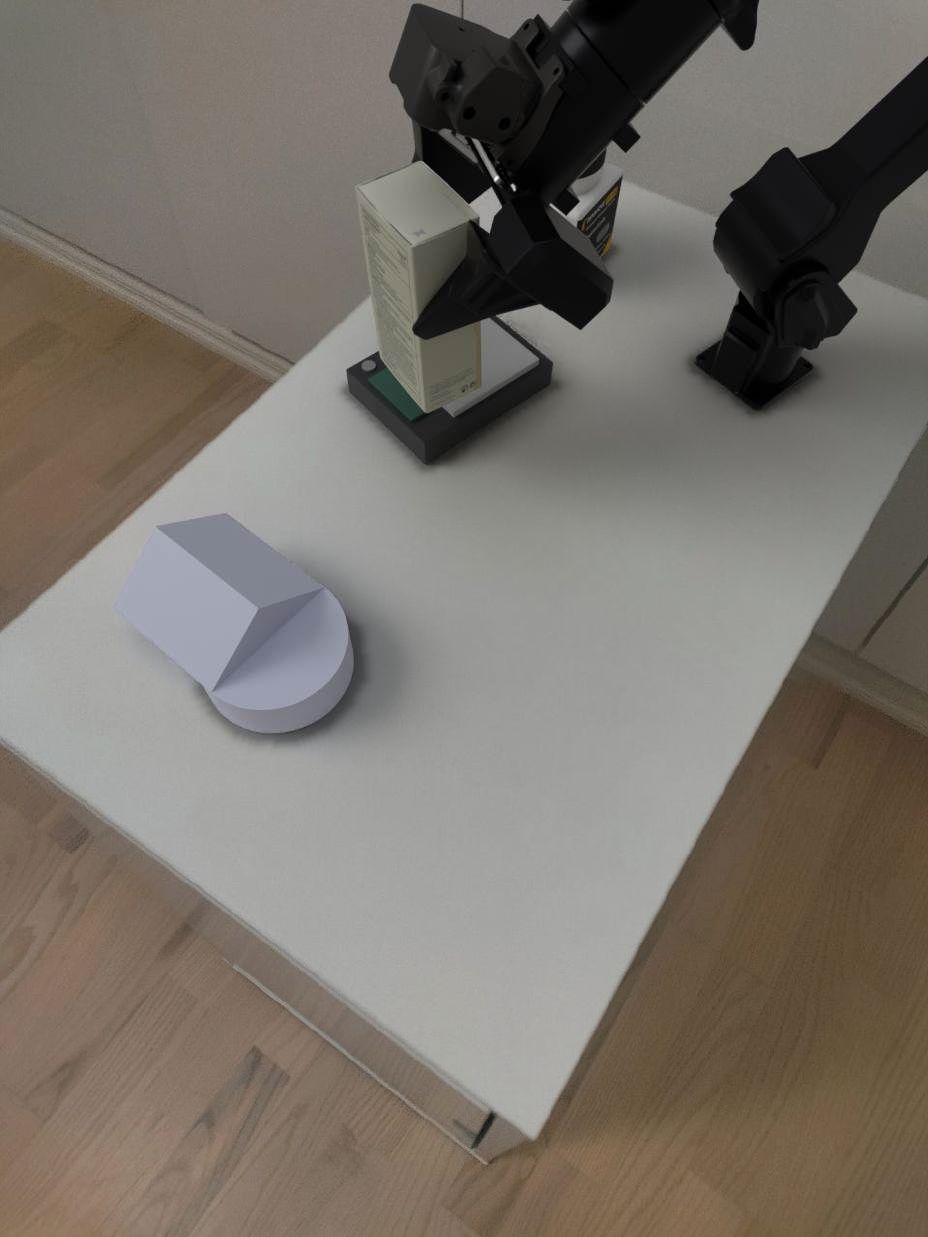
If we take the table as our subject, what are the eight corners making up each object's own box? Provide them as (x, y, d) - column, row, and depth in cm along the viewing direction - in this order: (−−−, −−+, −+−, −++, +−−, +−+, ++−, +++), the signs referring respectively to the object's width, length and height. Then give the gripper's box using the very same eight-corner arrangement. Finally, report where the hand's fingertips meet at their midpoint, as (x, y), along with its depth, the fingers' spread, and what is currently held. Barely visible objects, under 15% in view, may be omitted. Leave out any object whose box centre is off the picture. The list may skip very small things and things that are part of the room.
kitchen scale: (472, 319, 68) (473, 289, 66) (550, 384, 65) (554, 356, 62) (348, 391, 64) (344, 362, 62) (425, 464, 61) (424, 437, 58)
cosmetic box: (483, 389, 55) (487, 218, 45) (423, 417, 54) (412, 249, 43) (431, 330, 58) (424, 155, 47) (373, 356, 57) (352, 182, 46)
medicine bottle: (568, 297, 70) (589, 153, 59) (493, 263, 71) (500, 118, 61) (610, 248, 73) (637, 103, 62) (537, 217, 74) (551, 71, 64)
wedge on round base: (130, 635, 54) (278, 763, 50) (91, 577, 48) (255, 716, 44) (237, 543, 57) (384, 656, 53) (213, 478, 52) (376, 599, 48)
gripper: (433, -155, 41) (250, 122, 48) (580, 56, 32) (327, 351, 40) (573, 4, 49) (396, 220, 57) (721, 208, 40) (487, 428, 48)
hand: (400, 293), depth 50 cm, fingers closed on cosmetic box, 7 cm apart
